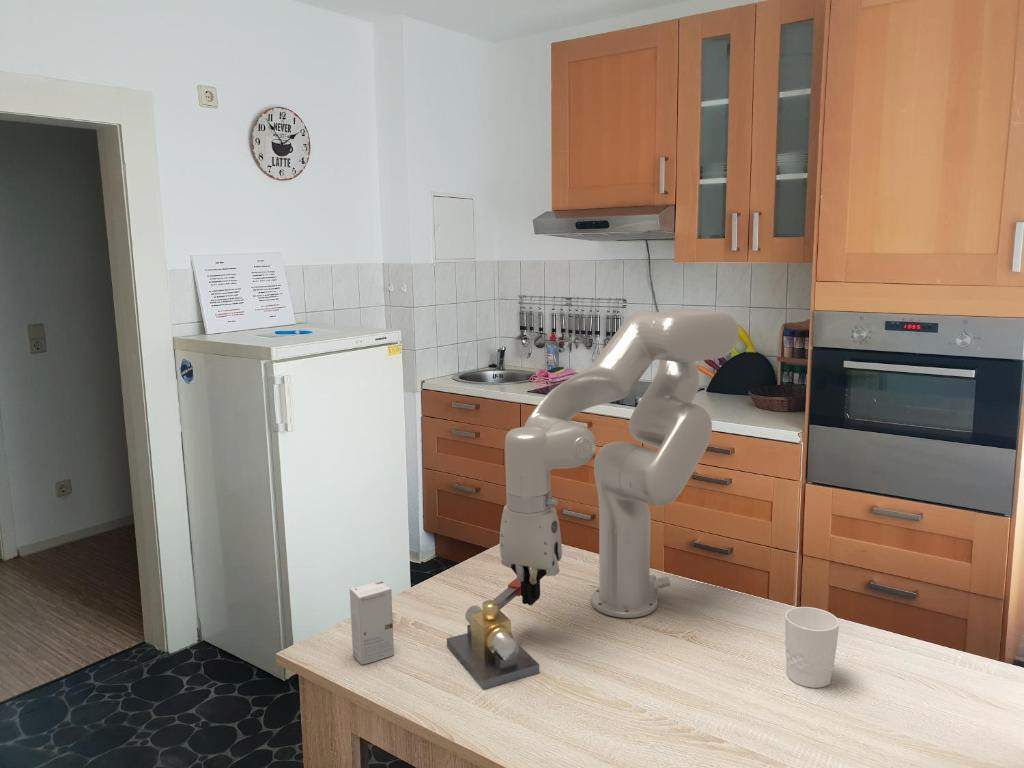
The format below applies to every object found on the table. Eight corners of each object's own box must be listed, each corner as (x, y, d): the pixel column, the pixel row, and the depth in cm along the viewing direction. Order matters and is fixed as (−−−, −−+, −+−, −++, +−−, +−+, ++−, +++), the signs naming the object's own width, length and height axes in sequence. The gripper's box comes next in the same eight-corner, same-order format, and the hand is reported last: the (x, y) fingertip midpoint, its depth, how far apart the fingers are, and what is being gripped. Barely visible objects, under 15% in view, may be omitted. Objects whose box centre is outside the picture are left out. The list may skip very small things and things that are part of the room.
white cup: (834, 667, 127) (837, 610, 125) (836, 694, 120) (840, 633, 118) (782, 660, 130) (785, 603, 128) (782, 685, 122) (785, 626, 120)
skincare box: (362, 666, 130) (358, 598, 128) (351, 654, 134) (347, 588, 132) (396, 655, 133) (392, 588, 131) (385, 644, 137) (381, 579, 135)
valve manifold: (498, 632, 140) (497, 593, 139) (539, 672, 127) (538, 630, 126) (447, 646, 136) (445, 606, 134) (483, 689, 123) (482, 645, 121)
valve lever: (493, 620, 128) (493, 608, 128) (479, 617, 129) (479, 605, 129) (530, 588, 140) (530, 577, 139) (517, 585, 141) (517, 574, 141)
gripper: (578, 500, 132) (579, 601, 136) (501, 488, 139) (503, 584, 143) (559, 514, 126) (560, 620, 129) (479, 501, 133) (482, 601, 136)
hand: (530, 601), depth 136 cm, fingers closed
